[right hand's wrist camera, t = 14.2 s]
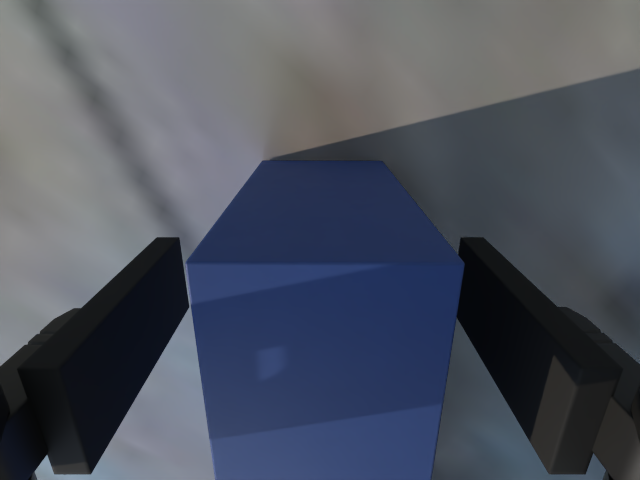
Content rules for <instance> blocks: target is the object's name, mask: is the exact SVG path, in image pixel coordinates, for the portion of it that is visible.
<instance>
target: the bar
mask: <svg viewBox="0 0 640 480" xmlns="http://www.w3.org/2000/svg"><path fill="white" fill-rule="evenodd" d="M464 265H465V264H464V262H463V261H462V259H461V258H460V257H459V256H458V254H457V253H456V252H455V251H454V249H453V248H452V247H451V246H450V245H449V243H448V242H447V241H446V240H445V238H444V237H443V236H442V235H441V233H440V232H439V231H438V230H437V228H436V227H435V226H434V225H433V223H432V222H431V221H430V220H429V219H428V217H427V216H426V215H425V214H424V212H423V211H422V210H421V209H420V207H419V206H418V205H417V204H416V202H415V201H414V200H413V199H412V197H411V196H410V195H409V194H408V193H407V191H406V190H405V189H404V188H403V186H402V185H401V184H400V183H399V181H398V180H397V179H396V178H395V176H394V175H393V174H392V173H391V171H390V170H389V169H388V168H387V166H386V165H385V164H384V163H383V162H382V161H262V162H261V163H260V165H259V166H258V167H257V169H256V170H255V171H254V173H253V174H252V175H251V177H250V178H249V179H248V180H247V182H246V183H245V184H244V186H243V187H242V188H241V190H240V191H239V192H238V194H237V195H236V196H235V198H234V199H233V200H232V202H231V203H230V204H229V206H228V207H227V208H226V209H225V211H224V212H223V213H222V215H221V216H220V217H219V219H218V220H217V221H216V223H215V224H214V225H213V227H212V228H211V229H210V231H209V232H208V233H207V235H206V236H205V237H204V239H203V240H202V241H201V242H200V244H199V245H198V246H197V248H196V249H195V250H194V252H193V253H192V254H191V256H190V257H189V258H188V260H187V261H186V263H185V266H186V273H187V281H188V288H189V295H190V302H191V309H192V316H193V324H194V331H195V338H196V345H197V352H198V359H199V367H200V374H201V381H202V388H203V395H204V403H205V410H206V417H207V424H208V431H209V438H210V446H211V453H212V460H213V467H214V474H215V480H431V478H432V472H433V465H434V459H435V452H436V446H437V439H438V433H439V427H440V420H441V414H442V407H443V401H444V394H445V388H446V381H447V375H448V369H449V362H450V356H451V349H452V343H453V336H454V330H455V323H456V317H457V310H458V304H459V298H460V291H461V285H462V278H463V272H464Z"/></svg>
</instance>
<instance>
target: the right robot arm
mask: <svg viewBox="0 0 640 480" xmlns="http://www.w3.org/2000/svg"><path fill="white" fill-rule="evenodd" d="M458 256H459V257H460V258H461V259H462V261H463V262H464V264H465V265H464V272H463V278H462V285H461V291H460V298H459V304H458V310H457V318H458V320H459V322H460V324H461V325H462V327H463V329H464V330H465V332H466V334H467V335H468V337H469V339H470V341H471V342H472V344H473V346H474V347H475V349H476V351H477V352H478V354H479V356H480V358H481V359H482V361H483V363H484V364H485V366H486V368H487V370H488V371H489V373H490V375H491V376H492V378H493V380H494V381H495V383H496V385H497V387H498V388H499V390H500V392H501V393H502V395H503V397H504V398H505V400H506V402H507V404H508V405H509V407H510V409H511V410H512V412H513V414H514V415H515V417H516V419H517V421H518V422H519V424H520V426H521V427H522V429H523V431H524V432H525V434H526V436H527V438H528V439H529V441H530V443H531V444H532V446H533V448H534V449H535V451H536V453H537V455H538V456H539V458H540V460H541V461H542V463H543V465H544V466H545V468H546V470H547V472H548V473H549V474H586V472H587V469H588V466H589V463H590V460H591V458H592V455H593V453H594V454H595V456H596V457H597V458H598V460H599V461H600V462H601V464H602V465H603V466H604V468H605V469H606V472H605V475H604V477H603V480H640V364H639V363H637V362H636V361H635V360H634V359H633V358H632V357H631V356H629V355H628V354H627V353H626V352H625V351H624V350H623V349H621V348H620V347H619V346H618V345H617V344H616V343H613V342H612V340H611V339H610V338H609V337H608V336H607V335H605V334H604V333H601V332H600V329H599V328H597V327H596V326H595V325H594V324H593V323H592V322H591V321H589V320H588V319H587V318H586V317H584V316H582V315H580V314H578V313H577V312H575V311H573V310H571V309H569V308H567V307H557V306H556V305H555V304H554V303H553V302H552V301H550V300H549V299H548V298H547V297H546V296H545V295H544V294H543V293H542V292H541V291H540V290H539V289H538V288H537V287H536V286H534V285H533V284H532V283H531V282H530V281H529V280H528V279H527V278H526V277H525V276H524V275H523V274H522V273H521V272H520V271H518V270H517V269H516V268H515V267H514V266H513V265H512V264H511V263H510V262H509V261H508V260H507V259H506V258H505V257H503V256H502V255H501V254H500V253H499V252H498V251H497V250H496V249H495V248H494V247H493V246H492V245H491V244H490V243H489V242H487V241H486V240H485V239H484V238H483V237H461V239H460V246H459V253H458ZM188 308H189V302H188V295H187V288H186V281H185V274H184V267H183V260H182V253H181V246H180V239H179V237H157V238H156V239H155V240H154V241H153V242H151V243H150V244H149V245H148V246H147V247H146V248H145V249H144V250H143V251H142V252H141V253H140V254H139V255H138V256H137V257H135V258H134V259H133V260H132V261H131V262H130V263H129V264H128V265H127V266H126V267H125V268H124V269H123V270H122V271H120V272H119V273H118V274H117V275H116V276H115V277H114V278H113V279H112V280H111V281H110V282H109V283H108V284H107V285H106V286H104V287H103V288H102V289H101V290H100V291H99V292H98V293H97V294H96V295H95V296H94V297H93V298H92V299H91V300H90V301H88V302H87V303H86V304H85V305H84V306H83V307H82V308H74V309H72V310H70V311H68V312H66V313H64V314H63V315H61V316H59V317H57V318H55V319H54V320H53V321H51V322H50V323H49V324H48V325H47V326H46V327H45V328H43V329H42V330H41V331H40V334H37V335H36V336H34V337H33V338H32V339H31V340H30V341H29V342H28V345H24V346H23V347H22V348H21V349H20V350H19V351H17V352H16V353H15V354H14V355H13V356H12V357H11V358H9V359H8V360H7V361H6V362H5V363H4V364H3V365H2V366H0V480H37V477H36V475H35V472H34V471H35V470H36V469H37V467H38V466H39V465H40V463H41V462H42V460H43V459H44V458H45V456H46V455H48V458H49V460H50V463H51V466H52V469H53V472H54V474H91V473H92V471H93V470H94V468H95V466H96V465H97V463H98V461H99V460H100V458H101V456H102V454H103V453H104V451H105V449H106V448H107V446H108V444H109V443H110V441H111V439H112V437H113V436H114V434H115V432H116V431H117V429H118V427H119V426H120V424H121V422H122V420H123V419H124V417H125V415H126V414H127V412H128V410H129V409H130V407H131V405H132V403H133V402H134V400H135V398H136V397H137V395H138V393H139V392H140V390H141V388H142V386H143V385H144V383H145V381H146V380H147V378H148V376H149V375H150V373H151V371H152V369H153V368H154V366H155V364H156V363H157V361H158V359H159V358H160V356H161V354H162V352H163V351H164V349H165V347H166V346H167V344H168V342H169V341H170V339H171V337H172V335H173V334H174V332H175V330H176V329H177V327H178V325H179V324H180V322H181V320H182V318H183V317H184V315H185V313H186V312H187V310H188Z"/></svg>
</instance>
